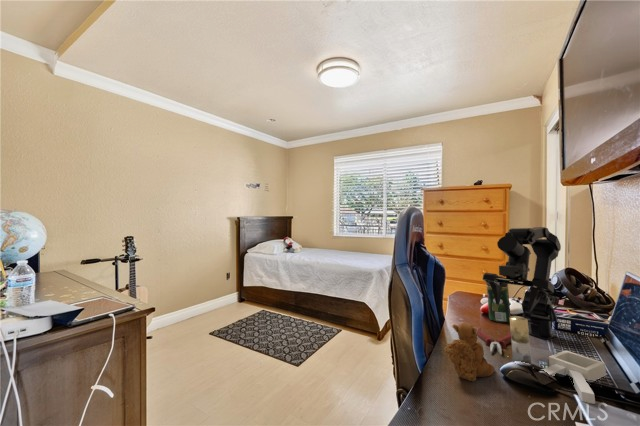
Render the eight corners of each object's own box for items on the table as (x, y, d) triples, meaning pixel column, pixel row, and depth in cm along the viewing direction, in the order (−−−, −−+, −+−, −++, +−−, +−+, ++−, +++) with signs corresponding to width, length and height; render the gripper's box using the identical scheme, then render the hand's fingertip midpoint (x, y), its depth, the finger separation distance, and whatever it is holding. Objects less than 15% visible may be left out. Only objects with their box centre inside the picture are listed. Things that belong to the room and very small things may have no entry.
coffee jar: (490, 315, 124) (487, 274, 125) (511, 318, 119) (508, 275, 120) (487, 321, 116) (484, 277, 117) (509, 324, 111) (506, 279, 112)
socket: (566, 362, 80) (565, 350, 80) (630, 384, 68) (628, 370, 68) (525, 379, 72) (524, 365, 72) (589, 407, 60) (587, 391, 60)
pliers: (475, 353, 88) (475, 345, 88) (476, 332, 105) (476, 325, 105) (519, 361, 82) (518, 353, 82) (512, 338, 99) (512, 330, 100)
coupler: (518, 357, 83) (515, 315, 84) (534, 364, 79) (530, 319, 80) (509, 361, 82) (506, 317, 82) (525, 367, 78) (521, 321, 78)
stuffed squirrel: (496, 369, 77) (492, 322, 78) (481, 391, 67) (477, 337, 68) (459, 358, 84) (456, 316, 85) (440, 377, 74) (437, 328, 75)
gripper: (478, 252, 96) (471, 295, 92) (543, 255, 81) (538, 307, 76) (492, 263, 102) (486, 304, 97) (556, 268, 86) (552, 317, 82)
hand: (512, 307), depth 88 cm, fingers open, 9 cm apart
